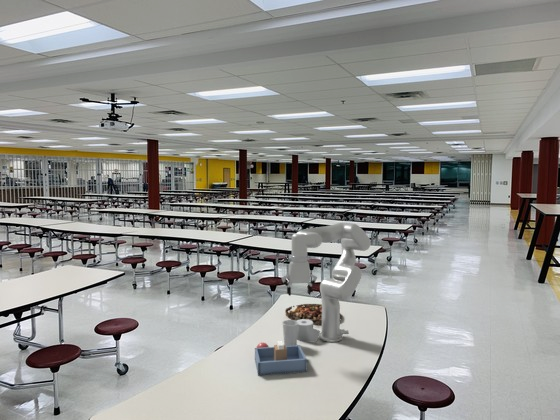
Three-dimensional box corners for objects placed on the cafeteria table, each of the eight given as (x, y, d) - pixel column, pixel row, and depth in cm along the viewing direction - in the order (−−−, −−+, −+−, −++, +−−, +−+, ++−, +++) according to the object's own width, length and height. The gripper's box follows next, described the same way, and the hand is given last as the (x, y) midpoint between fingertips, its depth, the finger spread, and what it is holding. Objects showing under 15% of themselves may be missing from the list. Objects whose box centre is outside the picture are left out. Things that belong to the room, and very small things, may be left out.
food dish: (278, 325, 228) (278, 311, 228) (292, 308, 260) (292, 297, 260) (338, 329, 218) (338, 315, 218) (345, 311, 250) (345, 299, 250)
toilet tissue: (319, 342, 200) (319, 326, 200) (294, 340, 203) (294, 324, 202) (320, 335, 209) (321, 320, 208) (296, 334, 211) (296, 318, 211)
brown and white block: (286, 365, 173) (286, 345, 172) (275, 366, 172) (275, 345, 172) (285, 360, 178) (285, 340, 177) (274, 361, 177) (274, 341, 177)
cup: (296, 349, 191) (297, 326, 191) (281, 348, 193) (281, 324, 192) (299, 343, 199) (299, 320, 198) (284, 342, 201) (284, 319, 200)
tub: (299, 356, 184) (299, 345, 184) (306, 371, 169) (306, 359, 169) (254, 359, 181) (254, 348, 181) (258, 375, 166) (258, 363, 166)
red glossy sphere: (268, 352, 189) (268, 340, 188) (269, 357, 183) (269, 345, 182) (255, 353, 188) (255, 340, 187) (257, 358, 182) (257, 346, 182)
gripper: (315, 257, 192) (314, 291, 193) (280, 258, 189) (280, 293, 190) (318, 260, 184) (318, 295, 185) (282, 261, 181) (282, 297, 183)
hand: (299, 294), depth 188 cm, fingers open, 9 cm apart
